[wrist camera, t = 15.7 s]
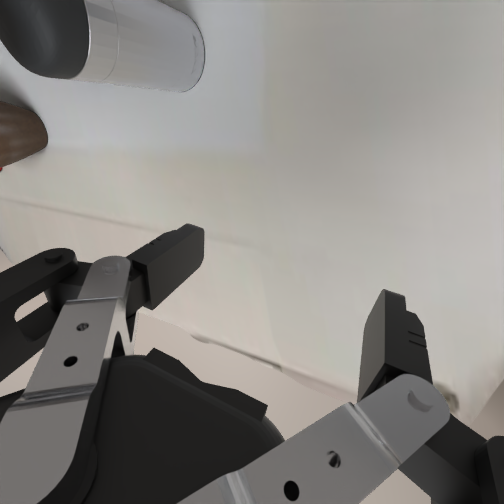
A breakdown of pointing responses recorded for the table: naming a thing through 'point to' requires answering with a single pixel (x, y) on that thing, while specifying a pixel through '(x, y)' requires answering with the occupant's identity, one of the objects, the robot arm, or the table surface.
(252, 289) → the table surface
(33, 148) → the plant pot
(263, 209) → the table surface
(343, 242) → the table surface
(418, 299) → the table surface
